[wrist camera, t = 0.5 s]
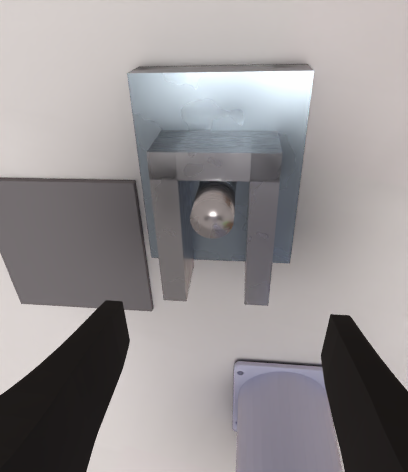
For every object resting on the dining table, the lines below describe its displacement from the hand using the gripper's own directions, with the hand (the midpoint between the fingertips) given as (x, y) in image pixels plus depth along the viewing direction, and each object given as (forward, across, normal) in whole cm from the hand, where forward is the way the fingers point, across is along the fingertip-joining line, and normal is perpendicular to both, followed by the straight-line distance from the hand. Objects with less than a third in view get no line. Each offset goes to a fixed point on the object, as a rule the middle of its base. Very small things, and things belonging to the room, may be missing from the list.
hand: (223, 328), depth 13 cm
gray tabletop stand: (+8, +1, -1) cm, 8 cm away
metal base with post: (+10, +1, -2) cm, 10 cm away
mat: (+10, +11, +4) cm, 15 cm away
